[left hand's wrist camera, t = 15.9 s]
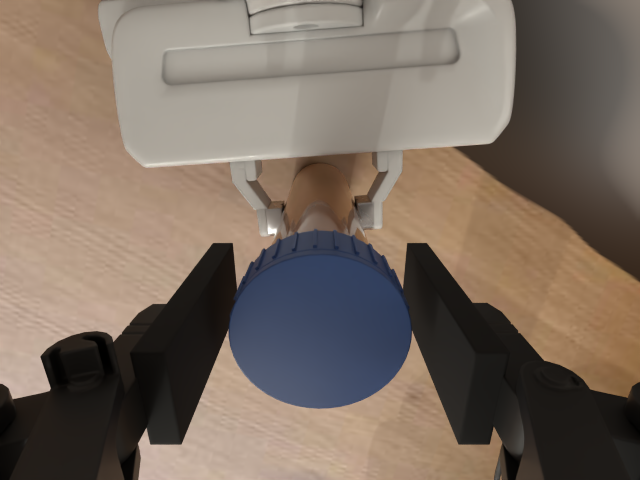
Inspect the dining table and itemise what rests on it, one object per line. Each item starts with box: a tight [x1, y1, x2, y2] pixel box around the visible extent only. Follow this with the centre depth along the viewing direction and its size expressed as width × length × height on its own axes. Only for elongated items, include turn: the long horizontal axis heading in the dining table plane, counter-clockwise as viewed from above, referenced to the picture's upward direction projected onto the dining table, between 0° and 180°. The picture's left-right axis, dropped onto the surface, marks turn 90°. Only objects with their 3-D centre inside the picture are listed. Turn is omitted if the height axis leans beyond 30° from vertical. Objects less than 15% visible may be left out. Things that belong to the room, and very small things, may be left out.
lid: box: [229, 229, 412, 409], centre depth 11 cm, size 6×6×2 cm
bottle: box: [272, 163, 369, 245], centre depth 19 cm, size 4×4×18 cm
